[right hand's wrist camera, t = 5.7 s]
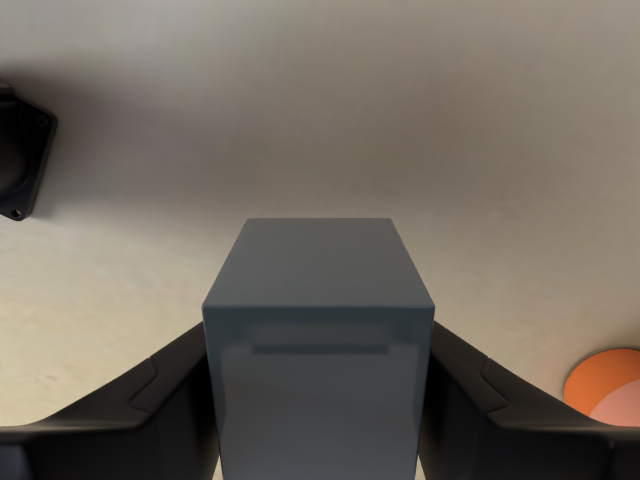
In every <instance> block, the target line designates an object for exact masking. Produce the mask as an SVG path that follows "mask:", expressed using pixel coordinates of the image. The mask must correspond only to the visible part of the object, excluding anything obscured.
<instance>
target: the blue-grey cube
mask: <svg viewBox="0 0 640 480" xmlns="http://www.w3.org/2000/svg"><path fill="white" fill-rule="evenodd" d="M201 308H202V316H203V324H204V332H205V340H206V348H207V356H208V364H209V372H210V380H211V388H212V396H213V404H214V412H215V420H216V428H217V436H218V444H219V453H220V461H221V469H222V477H223V480H415V474H416V466H417V457H418V449H419V441H420V432H421V424H422V415H423V407H424V399H425V390H426V382H427V373H428V365H429V357H430V348H431V340H432V331H433V323H434V315H435V305H434V303H433V301H432V299H431V297H430V295H429V293H428V291H427V289H426V287H425V285H424V283H423V281H422V279H421V277H420V275H419V273H418V271H417V269H416V267H415V265H414V263H413V261H412V259H411V258H410V256H409V254H408V252H407V250H406V248H405V246H404V244H403V242H402V240H401V238H400V236H399V234H398V232H397V230H396V228H395V226H394V224H393V222H392V220H391V219H390V218H257V219H247V221H246V222H245V224H244V226H243V228H242V230H241V232H240V234H239V236H238V238H237V240H236V242H235V243H234V245H233V247H232V249H231V251H230V253H229V255H228V257H227V259H226V261H225V262H224V264H223V266H222V268H221V270H220V272H219V274H218V276H217V278H216V280H215V282H214V283H213V285H212V287H211V289H210V291H209V293H208V295H207V297H206V299H205V301H204V303H203V304H202V307H201Z"/></svg>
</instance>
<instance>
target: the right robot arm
mask: <svg viewBox="0 0 640 480" xmlns="http://www.w3.org/2000/svg"><path fill="white" fill-rule="evenodd" d="M43 116H44V117H45V118H46V119H47V121H48V124H47V125H46V124H44V122H43ZM57 122H58V121H57V118H56V116H55V115H54V114H53V113H52V112H50V111H48V110H46V109H44V108H42V107H40V106H39V105H37V104H35V103H33V102H31V101H29V100H27V99H25V98H23V97H21V96H19V95H17V94H16V91H15V90H14V88H13V87H12V86H10V85H8V84H6V83H4V82H2V81H0V214H1V215H3V216H5V217H8V218H10V219H12V220H15V221H22V220H24V219H26V218H28V217H29V215H30V212H31V209H32V206H33V203H34V199H35V196H36V193H37V190H38V186H39V183H40V180H41V177H42V173H43V170H44V167H45V164H46V160H47V157H48V154H49V151H50V147H51V144H52V141H53V138H54V134H55V131H56V128H57ZM16 209H18V210H19V211H20V213H21V215H20V214H18V213H17V211H16ZM219 455H220V453H219V444H218V436H217V428H216V420H215V412H214V404H213V396H212V388H211V380H210V372H209V364H208V356H207V348H206V340H205V332H204V324H203V321H202V322H200V323H199V324H197V325H196V326H194V327H193V328H192V329H190V330H189V331H187V332H186V333H184V334H183V335H181V336H180V337H178V338H177V339H175V340H174V341H172V342H171V343H169V344H168V345H166V346H165V347H163V348H162V349H160V350H159V351H157V352H156V353H154V354H153V355H151V356H150V357H149V358H147V359H145V360H144V361H142V362H141V363H139V364H138V365H136V366H135V367H133V368H132V369H130V370H129V371H127V372H125V373H124V374H122V375H121V376H119V377H117V378H116V379H114V380H112V381H111V382H109V383H107V384H105V385H104V386H102V387H100V388H98V389H97V390H95V391H93V392H91V393H90V394H88V395H86V396H84V397H83V398H81V399H79V400H77V401H75V402H74V403H72V404H70V405H68V406H67V407H65V408H63V409H61V410H60V411H58V412H56V413H54V414H52V415H50V416H49V417H47V418H44V419H42V420H39V421H37V422H34V423H30V424H27V425H21V426H3V427H0V480H212V478H213V475H214V472H215V468H216V465H217V461H218V458H219ZM418 455H419V458H420V462H421V465H422V469H423V472H424V475H425V479H426V480H640V427H634V426H615V425H610V424H606V423H603V422H600V421H597V420H595V419H592V418H590V417H588V416H586V415H585V414H583V413H581V412H579V411H577V410H576V409H574V408H572V407H570V406H569V405H567V404H565V403H563V402H562V401H560V400H558V399H556V398H555V397H553V396H551V395H549V394H548V393H546V392H544V391H542V390H540V389H539V388H537V387H535V386H534V385H532V384H530V383H528V382H527V381H525V380H523V379H522V378H520V377H518V376H517V375H515V374H514V373H512V372H510V371H509V370H507V369H506V368H504V367H503V366H501V365H500V364H498V363H497V362H495V361H494V360H492V359H491V358H488V356H486V355H485V354H483V353H482V352H480V351H479V350H477V349H476V348H474V347H473V346H472V345H470V344H469V343H467V342H466V341H464V340H463V339H461V338H460V337H458V336H457V335H455V334H454V333H452V332H451V331H449V330H448V329H446V328H445V327H444V326H442V325H441V324H439V323H438V322H436V321H435V320H434V323H433V331H432V340H431V348H430V357H429V365H428V373H427V382H426V390H425V399H424V407H423V415H422V424H421V432H420V441H419V449H418Z"/></svg>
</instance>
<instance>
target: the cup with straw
mask: <svg viewBox="0 0 640 480" xmlns="http://www.w3.org/2000/svg"><path fill="white" fill-rule="evenodd" d="M563 399H564V403H565V404H567V405H569V406H570V407H572V408H574V409H576V410H577V411H579V412H581V413H583V414H585V415H586V416H588V417H590V418H592V419H595V420H597V421H600V422H603V423H606V424H610V425H615V426H634V427H640V352H639V351H636V350H631V349H613V350H608V351H604V352H601V353H598V354H596V355H594V356H592V357H590V358H588V359H586V360H585V361H583V362H582V363H581V364H580V365H578V366H577V367H576V368H575V369H574V370H573V372H572V373H571V374H570V376H569V377H568V379H567V381H566V383H565V386H564V390H563Z"/></svg>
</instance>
